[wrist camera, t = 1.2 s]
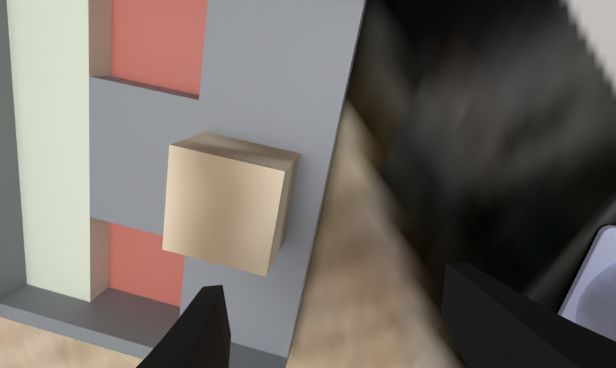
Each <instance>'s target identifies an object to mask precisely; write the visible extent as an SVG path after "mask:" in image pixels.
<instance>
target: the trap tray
mask: <svg viewBox="0 0 616 368" xmlns="http://www.w3.org/2000/svg"><path fill="white" fill-rule="evenodd" d="M366 3H367V0H0V317H3V318H6V319H9V320H13V321H16V322H19V323H23V324H26V325H30V326H33V327H36V328H40V329H43V330H46V331H50V332H53V333H57V334H60V335H63V336H67V337H70V338H73V339H77V340H80V341H84V342H87V343H90V344H94V345H97V346H100V347H104V348H107V349H111V350H114V351H117V352H121V353H124V354H127V355H131V356H134V357H138V358H141V359H145V357H146V356H147V355H148V354H149V353H150V352H151V351H152V350H153V348H154V347H155V346H156V345H157V344H158V343H159V342H160V340H161V339H162V338H163V337H164V336H165V334H166V333H167V332H168V331H169V330H170V328H171V327H172V326H173V325H174V323H175V322H176V321H177V320H178V318H179V317H180V316H181V314H182V313H183V312H184V310H185V309H186V308H187V307H188V305H189V304H190V303H191V301H192V300H193V299H194V297H195V296H196V294H197V293H198V292H199V290H200V289H201V288H202V287H204V286H214V285H223V290H224V296H225V302H226V308H227V314H228V320H229V326H230V331H231V345H230V358H229V368H286V364H287V361H288V357H289V354H290V350H291V346H292V342H293V337H294V333H295V328H296V323H297V319H298V314H299V310H300V305H301V301H302V296H303V291H304V287H305V282H306V278H307V273H308V268H309V264H310V259H311V255H312V250H313V246H314V241H315V236H316V232H317V227H318V223H319V218H320V214H321V209H322V204H323V200H324V195H325V191H326V186H327V181H328V177H329V172H330V168H331V163H332V159H333V154H334V149H335V145H336V140H337V136H338V131H339V127H340V122H341V117H342V113H343V108H344V104H345V99H346V94H347V90H348V85H349V81H350V76H351V72H352V67H353V62H354V58H355V53H356V49H357V44H358V40H359V35H360V30H361V26H362V21H363V17H364V12H365V7H366ZM204 132H208V133H213V134H217V135H221V136H226V137H230V138H235V139H239V140H244V141H248V142H252V143H257V144H261V145H266V146H270V147H274V148H279V149H283V150H288V151H292V152H297V153H301V154H300V159H299V165H298V170H297V175H296V181H295V186H294V191H293V197H292V202H291V207H290V213H289V218H288V223H287V229H286V234H285V239H284V243H283V245H282V247H281V249H280V251H279V253H278V255H277V257H276V259H275V261H274V263H273V265H272V267H271V269H270V271H269V273H268V275H267V277H265V276H261V275H258V274H254V273H250V272H246V271H242V270H239V269H235V268H231V267H227V266H223V265H220V264H216V263H212V262H208V261H204V260H201V259H197V258H193V257H189V256H185V255H182V254H178V253H174V252H170V251H166V250H162V247H163V232H164V217H165V202H166V187H167V171H168V156H169V145H170V144H173V143H175V142H178V141H181V140H184V139H187V138H190V137H192V136H195V135H198V134H201V133H204Z"/></svg>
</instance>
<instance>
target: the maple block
mask: <svg viewBox="0 0 616 368" xmlns="http://www.w3.org/2000/svg"><path fill="white" fill-rule="evenodd" d="M300 154H301V153H297V152H292V151H288V150H283V149H279V148H274V147H270V146H266V145H261V144H257V143H252V142H248V141H244V140H239V139H235V138H230V137H226V136H221V135H217V134H213V133H208V132H204V133H201V134H198V135H195V136H192V137H190V138H187V139H184V140H181V141H178V142H175V143H173V144H170V145H169V156H168V171H167V187H166V202H165V217H164V232H163V247H162V250H166V251H170V252H174V253H178V254H182V255H185V256H189V257H193V258H197V259H201V260H204V261H208V262H212V263H216V264H220V265H223V266H227V267H231V268H235V269H239V270H242V271H246V272H250V273H254V274H258V275H261V276H265V277H267V275H268V273H269V271H270V269H271V267H272V265H273V263H274V261H275V259H276V257H277V255H278V253H279V251H280V249H281V247H282V245H283V243H284V239H285V234H286V229H287V223H288V218H289V213H290V207H291V202H292V197H293V191H294V186H295V181H296V175H297V170H298V165H299V159H300Z"/></svg>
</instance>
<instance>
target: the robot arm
mask: <svg viewBox="0 0 616 368" xmlns="http://www.w3.org/2000/svg"><path fill="white" fill-rule="evenodd" d="M441 315H442V318H443V320H444V322H445V325H446V327H447V329H448V331H449V334H450V336H451V338H452V340H453V342H454V344H455V346H456V347H457V349H458V351H459V352H460V354H461V356H462V357H463V359H464V361H465V362H466V364H467V366H468V367H469V368H616V226H614V225H608V226H604V227H603V228H601V229H600V230H599V232H598V234H597V236H596V238H595V240H594V242H593V244H592V246H591V248H590V250H589V252H588V254H587V256H586V258H585V260H584V262H583V264H582V266H581V268H580V270H579V272H578V274H577V276H576V278H575V280H574V282H573V284H572V286H571V288H570V290H569V292H568V294H567V296H566V298H565V300H564V302H563V304H562V306H561V308H560V310H559V312H558V314H557V313H555V312H553V311H551V310H549V309H547V308H545V307H543V306H541V305H540V304H538V303H536V302H534V301H532V300H531V299H529V298H527V297H525V296H523V295H522V294H520V293H518V292H517V291H515V290H513V289H511V288H510V287H508V286H506V285H505V284H503V283H501V282H500V281H498V280H496V279H495V278H493V277H491V276H489V275H488V274H486V273H484V272H483V271H481V270H479V269H478V268H476V267H474V266H472V265H470V264H468V263H466V262H453V263H446V269H445V278H444V288H443V297H442V306H441ZM230 345H231V331H230V326H229V320H228V314H227V308H226V302H225V296H224V290H223V285H214V286H204V287H202V288H201V289H200V290H199V292H198V293H197V294H196V296H195V297H194V299H193V300H192V301H191V303H190V304H189V305H188V307H187V308H186V309H185V310H184V312H183V313H182V314H181V316H180V317H179V318H178V320H177V321H176V322H175V323H174V325H173V326H172V327H171V328H170V330H169V331H168V332H167V333H166V334H165V336H164V337H163V338H162V339H161V340H160V342H159V343H158V344H157V345H156V346H155V347H154V348H153V350H152V351H151V352H150V353H149V354H148V355H147V356H146V357H145V359H144V360H143V361H142V362H141V363H140V364H139V365H138V366H137V367H136V368H229V358H230Z"/></svg>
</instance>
